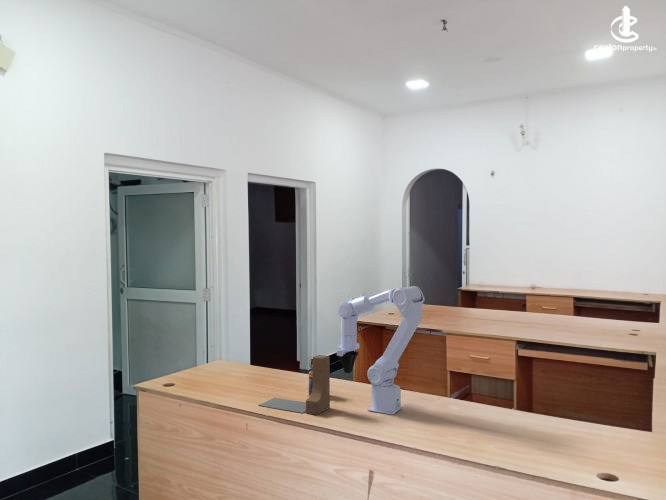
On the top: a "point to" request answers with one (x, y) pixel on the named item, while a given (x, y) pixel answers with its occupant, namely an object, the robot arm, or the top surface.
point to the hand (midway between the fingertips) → (348, 372)
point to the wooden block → (319, 386)
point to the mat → (285, 405)
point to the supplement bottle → (310, 380)
